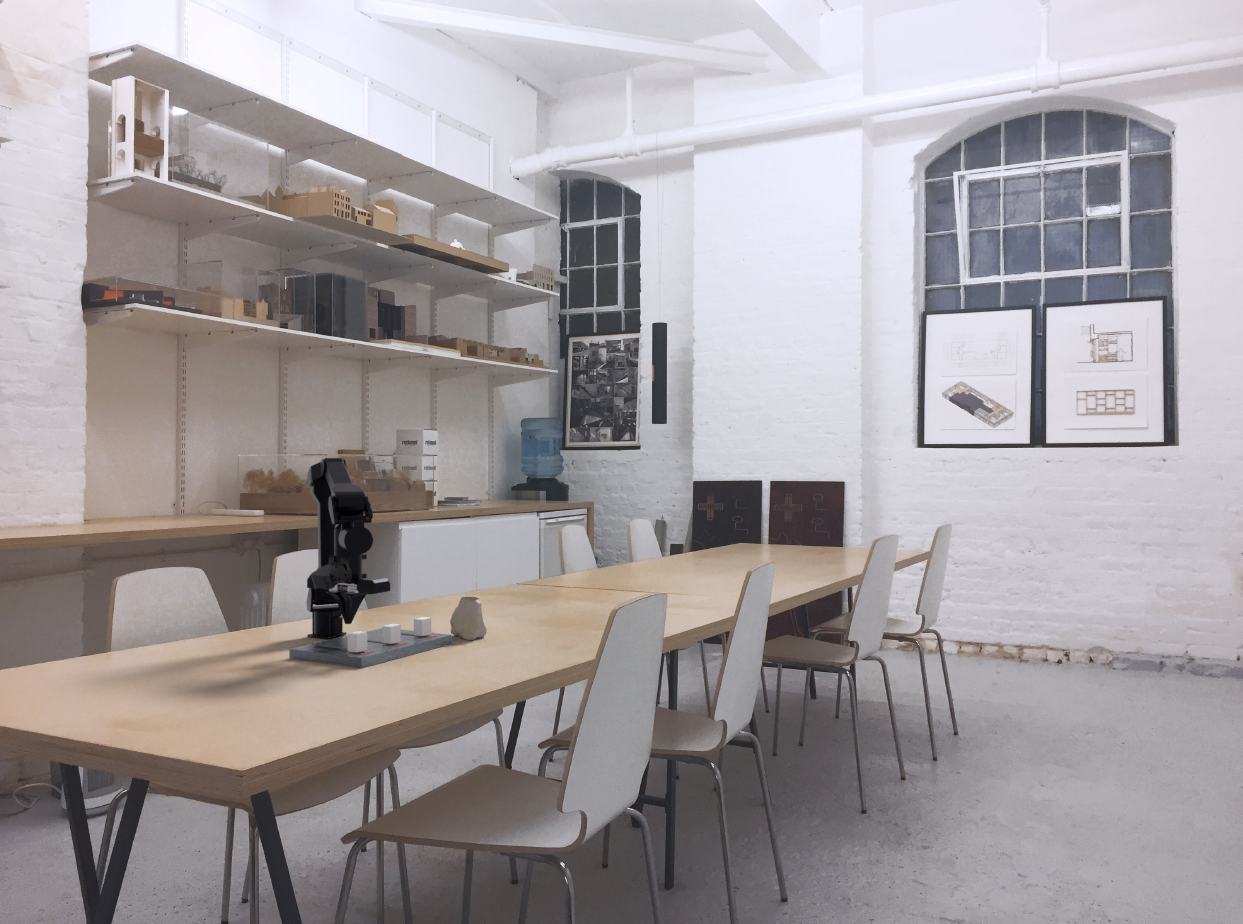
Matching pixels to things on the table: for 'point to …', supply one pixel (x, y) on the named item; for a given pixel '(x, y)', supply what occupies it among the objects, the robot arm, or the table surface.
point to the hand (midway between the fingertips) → (348, 623)
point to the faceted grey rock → (468, 619)
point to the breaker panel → (368, 649)
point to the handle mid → (391, 633)
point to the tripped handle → (357, 641)
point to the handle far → (422, 626)
